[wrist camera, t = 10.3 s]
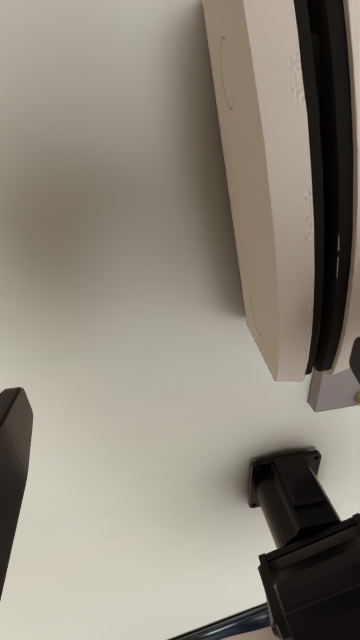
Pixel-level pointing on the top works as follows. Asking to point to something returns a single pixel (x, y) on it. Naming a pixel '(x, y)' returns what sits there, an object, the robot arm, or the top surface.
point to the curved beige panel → (292, 172)
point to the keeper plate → (333, 390)
